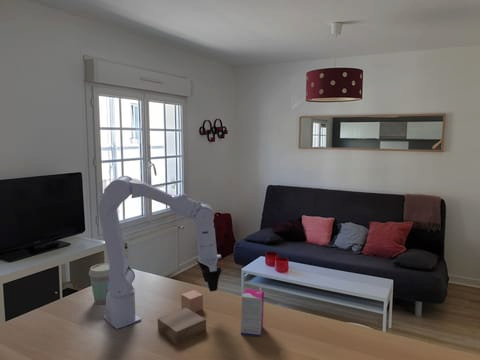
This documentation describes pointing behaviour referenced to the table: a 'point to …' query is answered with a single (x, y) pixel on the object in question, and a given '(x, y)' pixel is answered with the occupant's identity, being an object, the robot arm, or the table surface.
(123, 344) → the table surface
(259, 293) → the supplement box
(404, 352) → the table surface
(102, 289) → the coffee cup
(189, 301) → the terracotta cube
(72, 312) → the table surface
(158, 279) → the table surface
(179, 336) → the walnut block
